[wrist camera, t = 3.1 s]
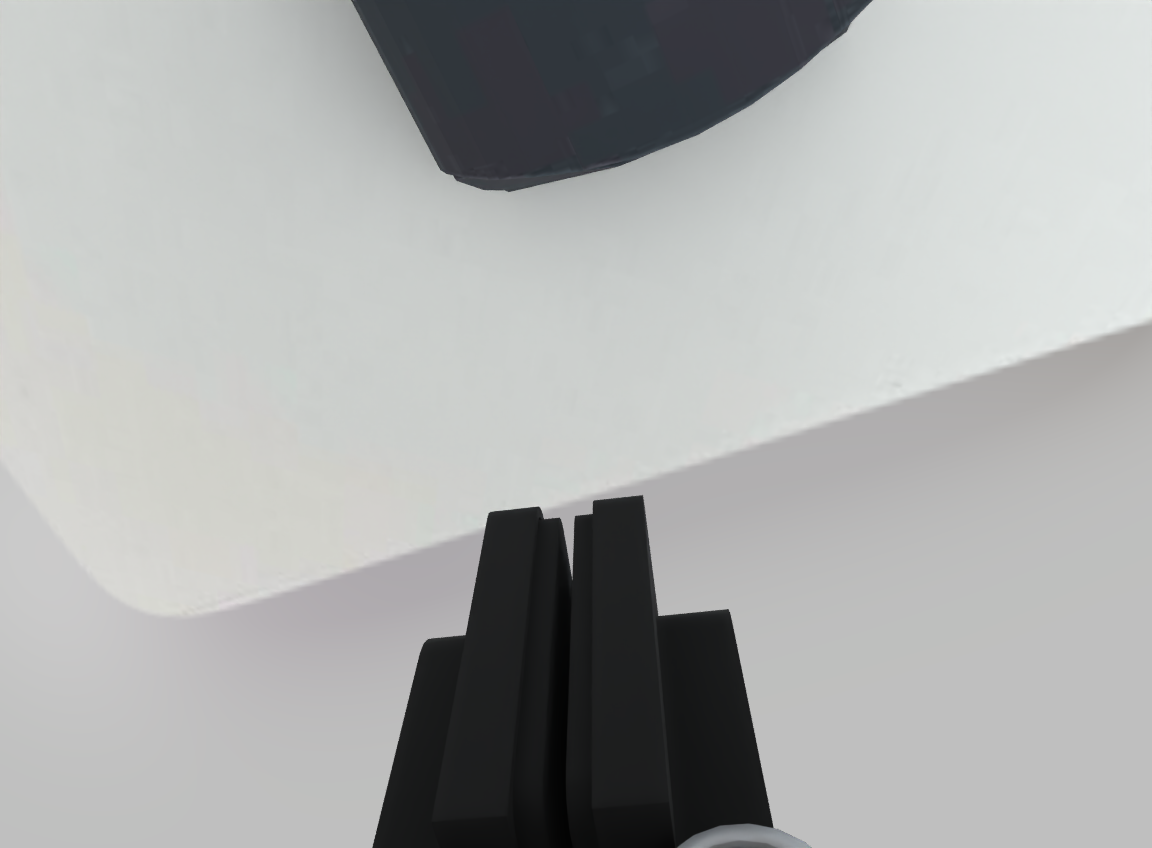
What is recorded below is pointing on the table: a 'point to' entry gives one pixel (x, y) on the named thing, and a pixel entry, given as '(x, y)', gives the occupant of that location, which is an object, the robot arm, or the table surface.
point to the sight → (585, 75)
